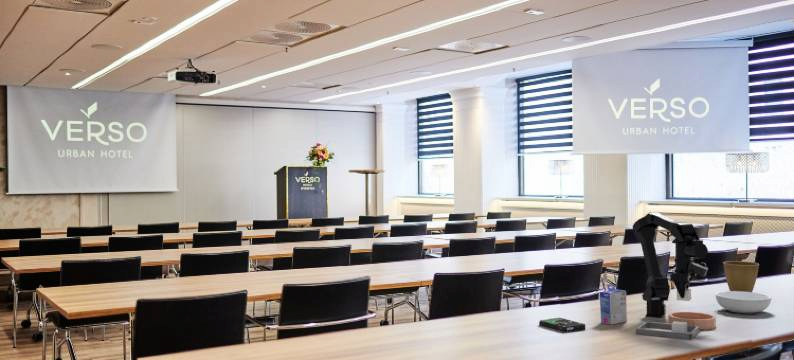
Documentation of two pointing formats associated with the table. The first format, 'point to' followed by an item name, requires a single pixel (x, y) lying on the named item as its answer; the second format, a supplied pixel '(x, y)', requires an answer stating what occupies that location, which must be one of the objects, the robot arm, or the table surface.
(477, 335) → the table surface
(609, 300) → the ink cartridge box
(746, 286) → the plant pot
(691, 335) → the parts tray
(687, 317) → the bowl
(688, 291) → the white matte cube
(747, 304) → the serving bowl
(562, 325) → the disk drive
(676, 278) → the robot arm
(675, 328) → the pale grey cubic block
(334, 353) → the table surface
